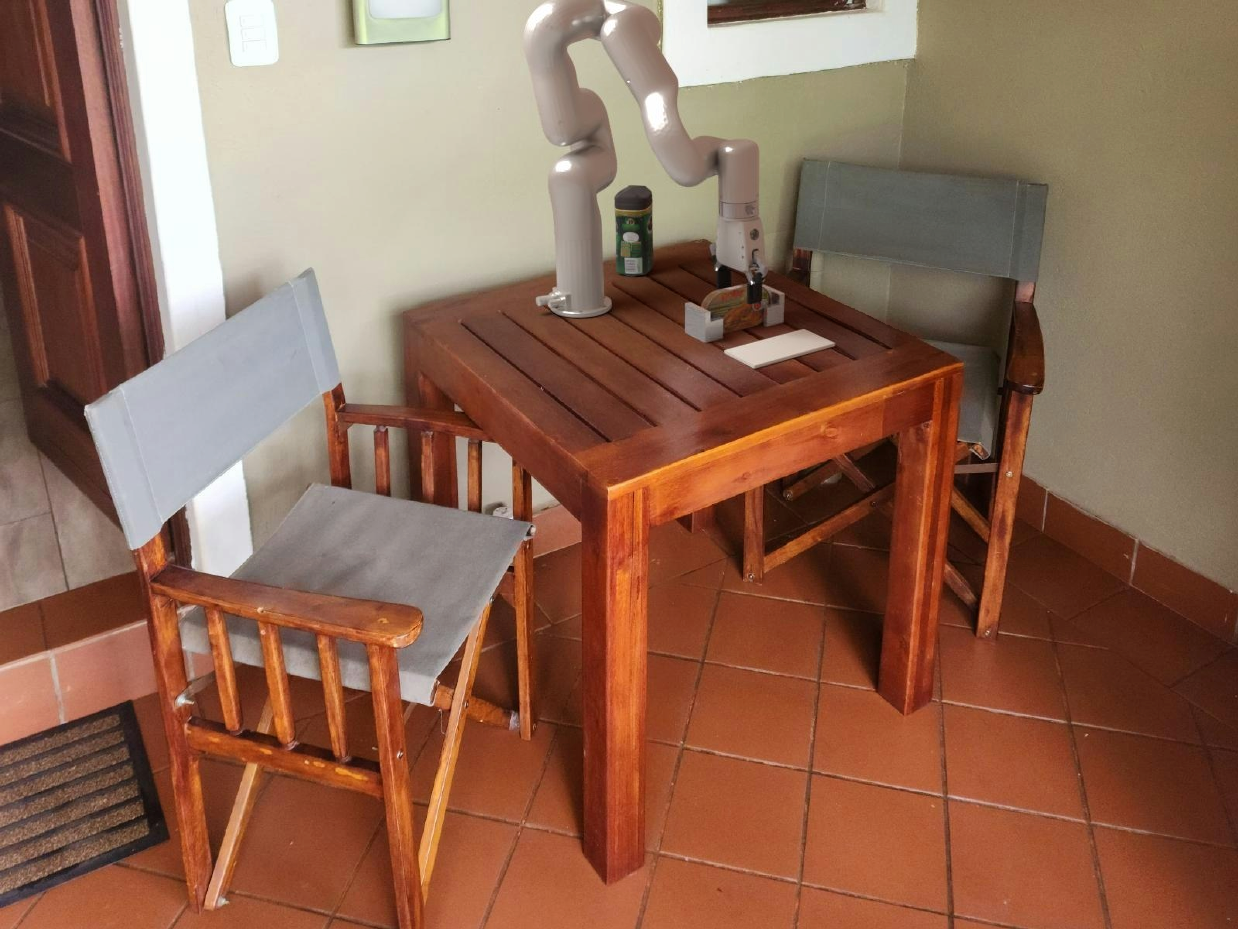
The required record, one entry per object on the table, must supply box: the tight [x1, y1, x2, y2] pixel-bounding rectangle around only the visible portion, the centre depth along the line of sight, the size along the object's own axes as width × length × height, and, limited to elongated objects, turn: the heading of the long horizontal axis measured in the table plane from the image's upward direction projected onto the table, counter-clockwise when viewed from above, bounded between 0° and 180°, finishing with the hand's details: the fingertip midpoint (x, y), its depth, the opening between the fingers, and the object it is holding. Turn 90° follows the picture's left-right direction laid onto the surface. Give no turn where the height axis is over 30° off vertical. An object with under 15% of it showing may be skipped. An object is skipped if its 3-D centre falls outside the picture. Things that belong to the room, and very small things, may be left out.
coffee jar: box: [613, 184, 655, 277], centre depth 258 cm, size 10×8×19 cm
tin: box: [700, 282, 771, 334], centre depth 228 cm, size 15×3×8 cm, turn 117°
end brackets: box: [684, 283, 785, 344], centre depth 228 cm, size 7×19×6 cm, turn 122°
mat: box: [723, 328, 836, 369], centre depth 219 cm, size 19×9×1 cm, turn 122°
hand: (738, 296), depth 227 cm, fingers open, 9 cm apart
